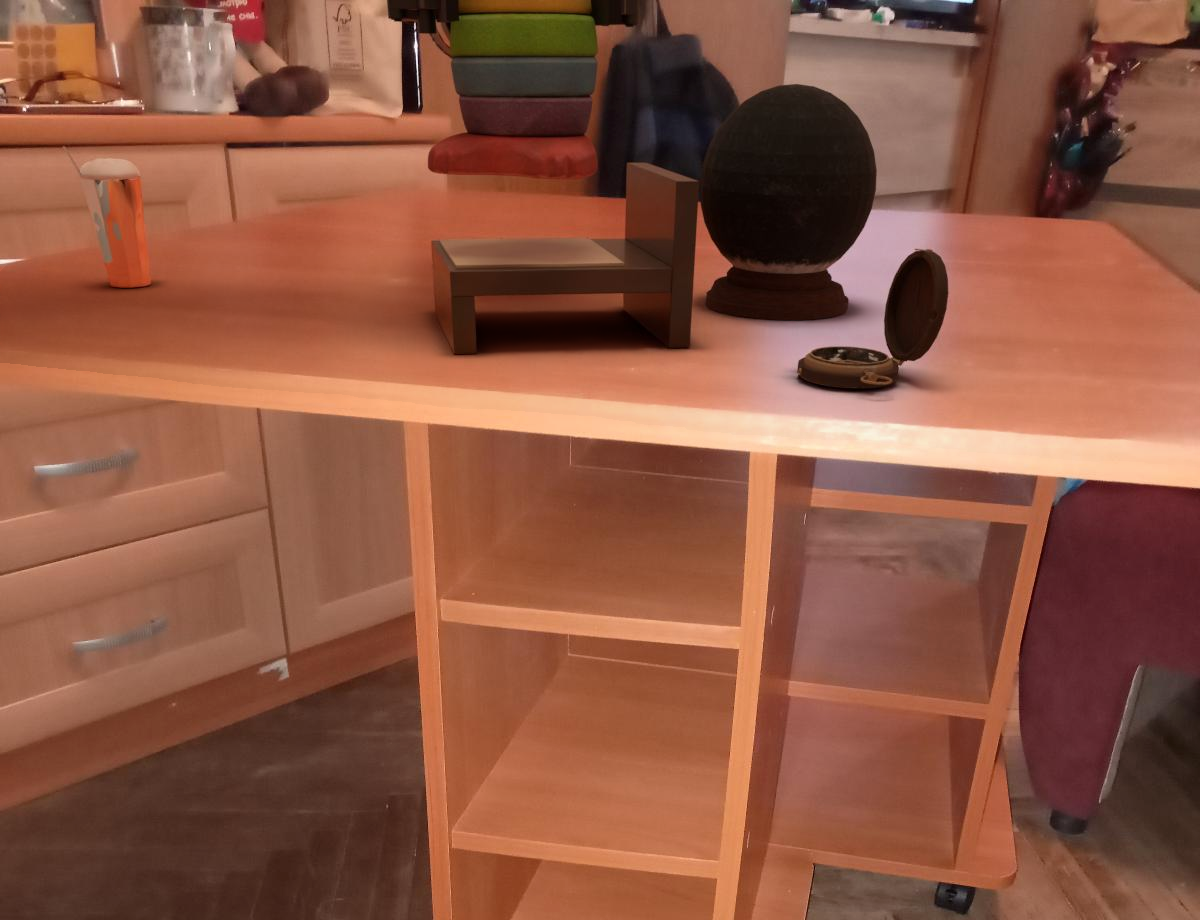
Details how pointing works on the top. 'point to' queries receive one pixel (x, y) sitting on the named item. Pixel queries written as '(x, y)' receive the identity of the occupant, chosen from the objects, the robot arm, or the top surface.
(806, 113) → the dark ball on base
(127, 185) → the milkshake
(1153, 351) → the top surface
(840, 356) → the compass
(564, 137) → the stacking bear
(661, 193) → the dollhouse bed
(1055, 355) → the top surface
